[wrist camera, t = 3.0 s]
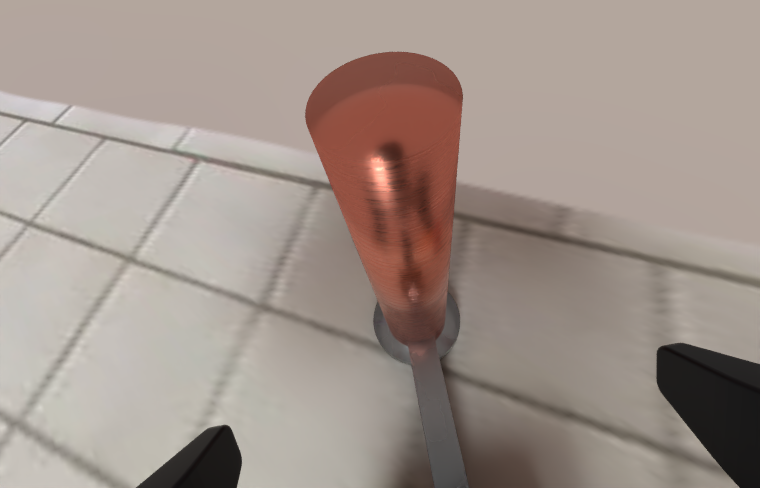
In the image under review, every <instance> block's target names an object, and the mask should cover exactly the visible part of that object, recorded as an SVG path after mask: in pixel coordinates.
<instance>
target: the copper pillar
mask: <svg viewBox="0 0 760 488" xmlns="http://www.w3.org/2000/svg"><path fill="white" fill-rule="evenodd" d="M462 100H463V94H462V88H461V85H460V82H459V81H458V79H457V77H456V76H455V74H454V73H453V72H452V71H451V70H450V69H449V68H448V67H447V66H445V65H444V64H442V63H441V62H439V61H437V60H435V59H433V58H430V57H427V56H424V55H420V54H415V53H408V52H385V53H378V54H373V55H368V56H365V57H361V58H358V59H355V60H353V61H350V62H348V63H346V64H344V65H342V66H340V67H339V68H337V69H335V70H334V71H333V72H331V73H330V74H329V75H327V76H326V77H325V78H324V79H323V80H322V81H321V82H320V83H319V84H318V85H317V87H316V88H315V89H314V90H313V92H312V94H311V95H310V97H309V100H308V102H307V106H306V113H305V114H306V115H305V118H306V124H307V127H308V129H309V132H310V134H311V137H312V139H313V142H314V144H315V147H316V149H317V152H318V154H319V157H320V159H321V162H322V164H323V167H324V169H325V171H326V174H327V176H328V179H329V181H330V184H331V186H332V189H333V191H334V194H335V196H336V199H337V201H338V204H339V206H340V209H341V211H342V213H343V216H344V218H345V221H346V223H347V226H348V228H349V231H350V233H351V236H352V238H353V241H354V243H355V246H356V248H357V250H358V253H359V255H360V258H361V260H362V263H363V265H364V268H365V270H366V273H367V275H368V278H369V280H370V283H371V285H372V288H373V290H374V292H375V295H376V297H377V300H378V303H377V305H376V308H375V312H374V329H375V333H376V336H377V338H378V340H379V342H380V344H381V346H382V347H383V348H384V350H385V351H386V352H387V353H388V354H389V355H390V356H391V357H393V358H394V359H396V360H397V361H400V362H402V363H405V364H408V365H412V370H413V376H414V381H415V386H416V392H417V397H418V402H419V407H420V413H421V418H422V423H423V429H424V434H425V439H426V445H427V450H428V455H429V460H430V466H431V471H432V476H433V482H434V487H435V488H469V485H468V481H467V476H466V472H465V468H464V463H463V459H462V454H461V450H460V446H459V441H458V437H457V433H456V428H455V424H454V420H453V415H452V411H451V407H450V402H449V398H448V394H447V389H446V385H445V381H444V376H443V372H442V368H441V363H440V359H441V358H442V357H444V356H445V355H446V354H447V353H448V352H449V351H450V350H451V348H452V347H453V346H454V344H455V342H456V339H457V336H458V332H459V327H460V315H459V311H458V308H457V305H456V303H455V301H454V299H453V298H452V296H451V295H450V294H449V293H448V292H447V290H448V278H449V265H450V252H451V240H452V227H453V215H454V202H455V189H456V177H457V163H458V152H459V139H460V126H461V113H462Z"/></svg>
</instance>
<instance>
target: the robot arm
mask: <svg viewBox="0 0 760 488" xmlns="http://www.w3.org/2000/svg"><path fill="white" fill-rule="evenodd" d="M657 384H658V387H659V389H660V391H661V393H662V394H663V396H664V397H665V398H666V399H667V401H668V402H669V403H670V404H671V406H672V407H673V408H674V409H675V411H676V412H677V413H678V414H679V416H680V417H681V418H682V419H683V421H684V422H685V423H686V424H687V426H688V427H689V428H690V429H691V431H692V432H693V433H694V434H695V436H696V437H697V438H698V439H699V441H700V442H701V443H702V444H703V446H704V447H705V448H706V449H707V451H708V452H709V453H710V454H711V456H712V457H713V458H714V459H715V460H716V461H717V463H718V464H719V465H720V466H721V467H722V469H723V470H724V471H725V472H726V473H727V474H728V475H729V476H730V477H731V479H732V480H733V481H734V482H735V483H736V484H737V485H738V486H739V487H740V488H760V364H757V363H753V362H750V361H746V360H743V359H739V358H735V357H732V356H728V355H725V354H721V353H717V352H714V351H710V350H707V349H703V348H699V347H696V346H692V345H689V344H685V343H675V344H669V345H664V346H661V347H659V348H658V350H657ZM241 466H242V457H241V453H240V450H239V447H238V445H237V442H236V440H235V437H234V434H233V432H232V430H231V428H230V427H229V426H228V425H221V426H215V427H210V428H208V429H206V430H205V431H204V432H203V433H201V434H200V435H199V436H198V437H197V438H195V439H194V440H193V441H192V442H191V443H189V444H188V445H187V446H186V447H184V448H183V449H182V450H181V451H180V452H178V453H177V454H176V455H175V456H174V457H172V458H171V459H170V460H169V461H168V462H166V463H165V464H164V465H163V466H162V467H160V468H159V469H158V470H157V471H156V472H154V473H153V474H152V475H151V476H149V477H148V478H147V479H146V480H145V481H143V482H142V483H141V484H140V485H139V486H137V487H136V488H237V484H238V480H239V476H240V471H241Z"/></svg>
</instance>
